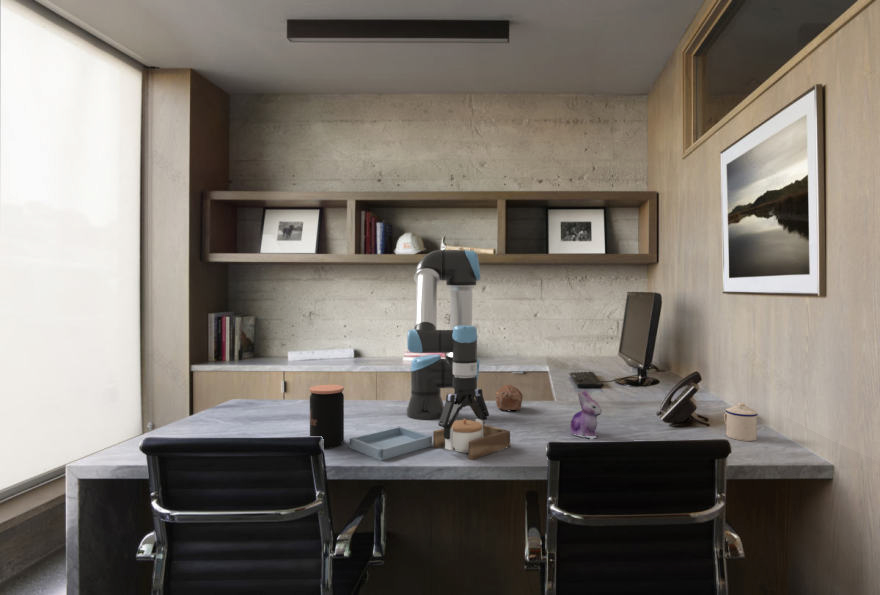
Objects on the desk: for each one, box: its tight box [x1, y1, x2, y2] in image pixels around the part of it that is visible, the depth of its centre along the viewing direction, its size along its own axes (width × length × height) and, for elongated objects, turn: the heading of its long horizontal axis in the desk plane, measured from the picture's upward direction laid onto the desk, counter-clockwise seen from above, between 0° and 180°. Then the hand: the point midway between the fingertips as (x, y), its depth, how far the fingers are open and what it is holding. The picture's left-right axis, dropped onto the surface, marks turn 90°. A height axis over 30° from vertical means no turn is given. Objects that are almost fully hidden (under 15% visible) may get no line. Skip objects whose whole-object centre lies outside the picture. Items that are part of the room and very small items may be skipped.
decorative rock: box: [495, 383, 524, 411], centre depth 206 cm, size 13×11×10 cm
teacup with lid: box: [723, 401, 758, 442], centre depth 168 cm, size 12×9×12 cm
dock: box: [432, 423, 511, 461], centre depth 156 cm, size 16×18×5 cm
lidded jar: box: [448, 418, 482, 453], centre depth 154 cm, size 11×11×9 cm
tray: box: [349, 425, 433, 461], centre depth 156 cm, size 16×20×3 cm
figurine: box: [570, 389, 603, 436], centre depth 169 cm, size 9×10×15 cm
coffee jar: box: [309, 384, 345, 449], centre depth 159 cm, size 11×11×18 cm
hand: (464, 444), depth 154 cm, fingers open, 13 cm apart
